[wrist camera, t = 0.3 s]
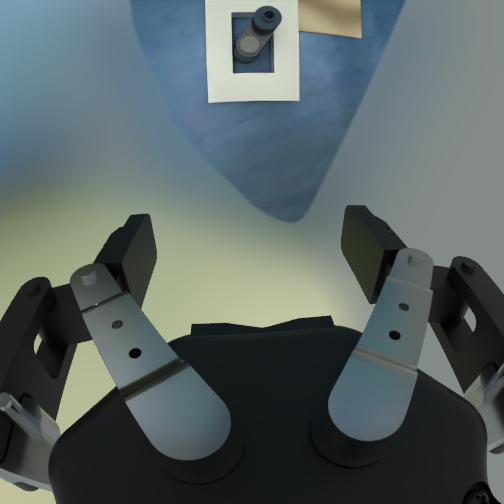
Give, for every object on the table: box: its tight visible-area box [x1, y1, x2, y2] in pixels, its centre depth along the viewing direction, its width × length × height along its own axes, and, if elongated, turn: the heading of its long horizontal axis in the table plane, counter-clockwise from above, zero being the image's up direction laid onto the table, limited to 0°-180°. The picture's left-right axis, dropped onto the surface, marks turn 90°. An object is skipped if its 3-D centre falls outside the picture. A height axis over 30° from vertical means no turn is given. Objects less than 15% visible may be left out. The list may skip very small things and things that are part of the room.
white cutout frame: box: [205, 0, 299, 103], centre depth 28 cm, size 14×10×3 cm
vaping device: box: [234, 6, 282, 63], centre depth 24 cm, size 3×5×12 cm, turn 148°
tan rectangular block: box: [298, 0, 362, 39], centre depth 26 cm, size 8×8×1 cm
